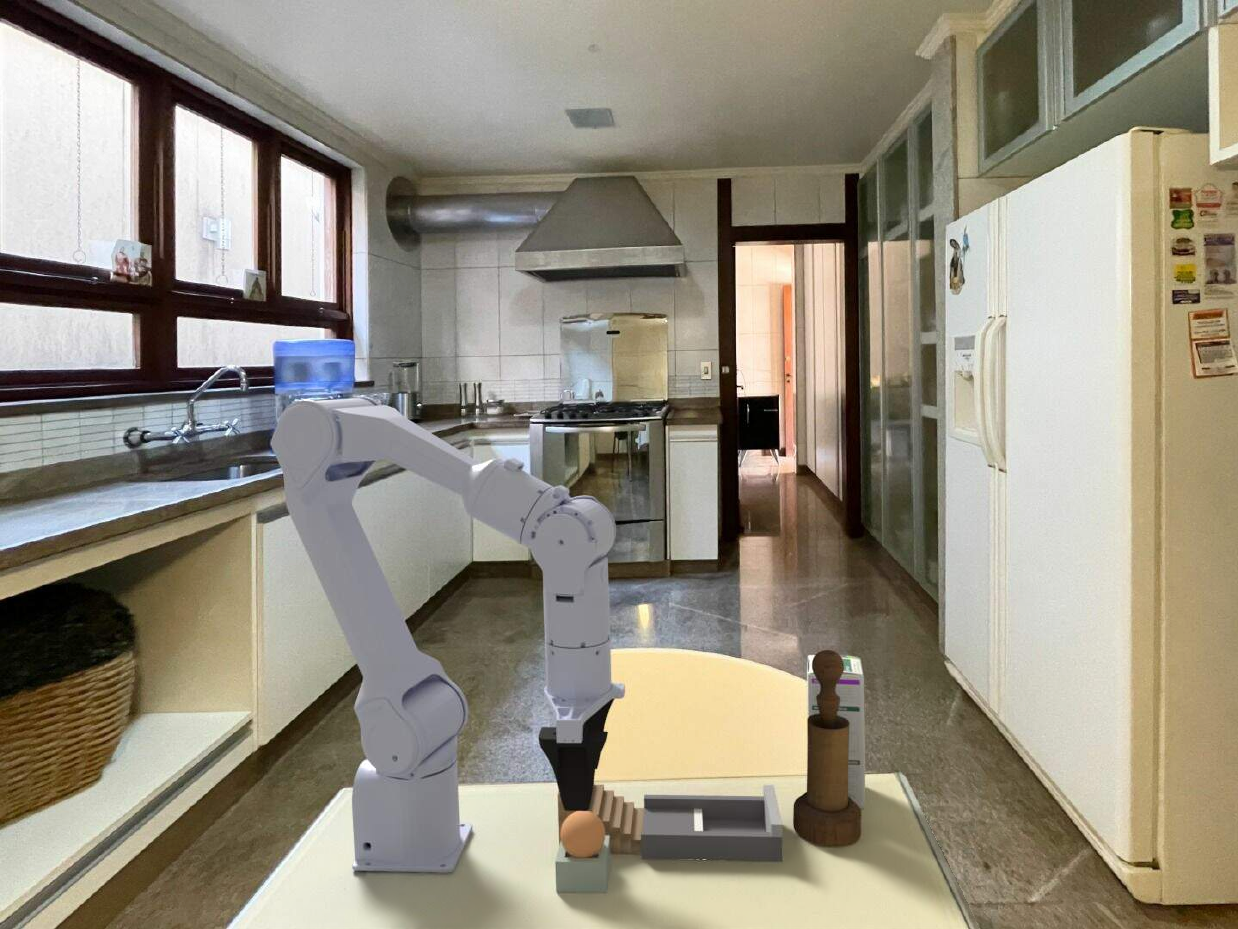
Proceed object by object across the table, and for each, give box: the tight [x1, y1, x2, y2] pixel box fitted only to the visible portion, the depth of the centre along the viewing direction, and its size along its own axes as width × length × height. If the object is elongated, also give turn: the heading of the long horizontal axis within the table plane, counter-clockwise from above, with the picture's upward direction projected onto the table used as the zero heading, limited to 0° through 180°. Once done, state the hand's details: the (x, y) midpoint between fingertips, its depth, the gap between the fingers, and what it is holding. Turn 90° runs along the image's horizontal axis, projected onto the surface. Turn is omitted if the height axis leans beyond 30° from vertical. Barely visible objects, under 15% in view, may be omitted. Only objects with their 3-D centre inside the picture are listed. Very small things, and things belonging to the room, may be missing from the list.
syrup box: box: [806, 654, 866, 810], centre depth 91 cm, size 6×6×14 cm
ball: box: [560, 811, 605, 858], centre depth 77 cm, size 4×4×4 cm
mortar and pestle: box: [792, 649, 862, 848], centre depth 84 cm, size 7×6×18 cm
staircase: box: [557, 784, 644, 855], centre depth 84 cm, size 8×6×6 cm
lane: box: [640, 784, 783, 863], centre depth 84 cm, size 13×8×4 cm, turn 86°
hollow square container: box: [554, 836, 611, 894], centre depth 78 cm, size 4×4×3 cm
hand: (582, 787), depth 77 cm, fingers open, 7 cm apart
